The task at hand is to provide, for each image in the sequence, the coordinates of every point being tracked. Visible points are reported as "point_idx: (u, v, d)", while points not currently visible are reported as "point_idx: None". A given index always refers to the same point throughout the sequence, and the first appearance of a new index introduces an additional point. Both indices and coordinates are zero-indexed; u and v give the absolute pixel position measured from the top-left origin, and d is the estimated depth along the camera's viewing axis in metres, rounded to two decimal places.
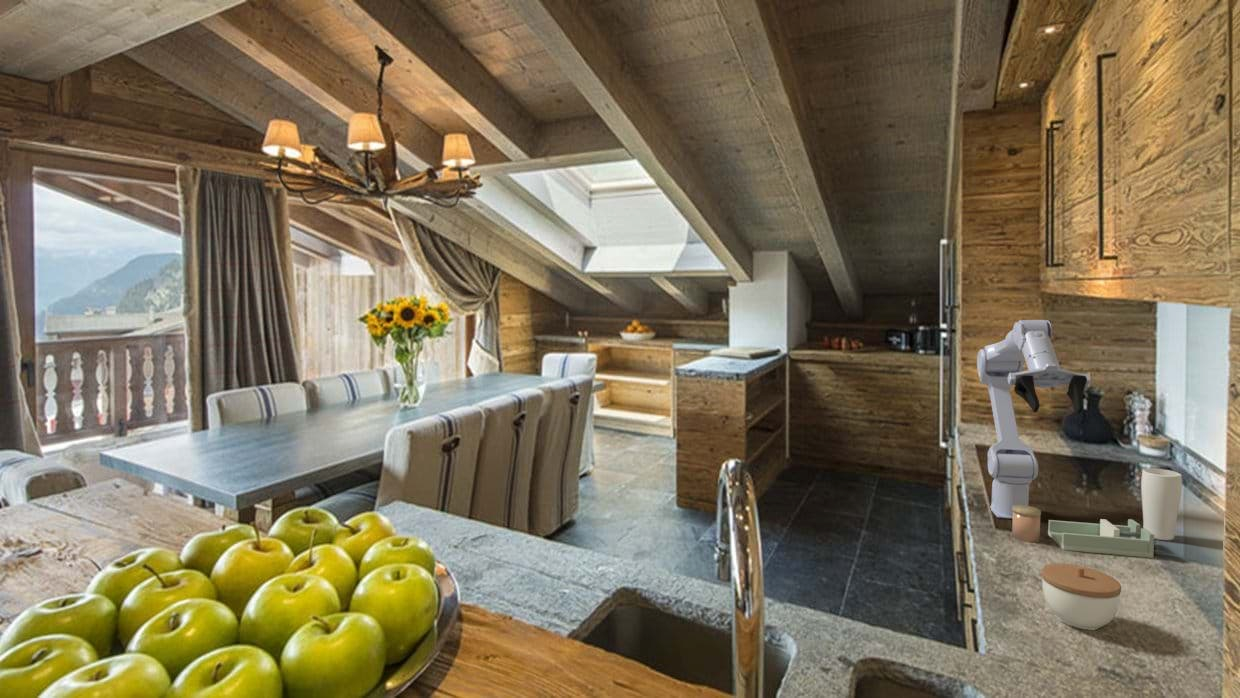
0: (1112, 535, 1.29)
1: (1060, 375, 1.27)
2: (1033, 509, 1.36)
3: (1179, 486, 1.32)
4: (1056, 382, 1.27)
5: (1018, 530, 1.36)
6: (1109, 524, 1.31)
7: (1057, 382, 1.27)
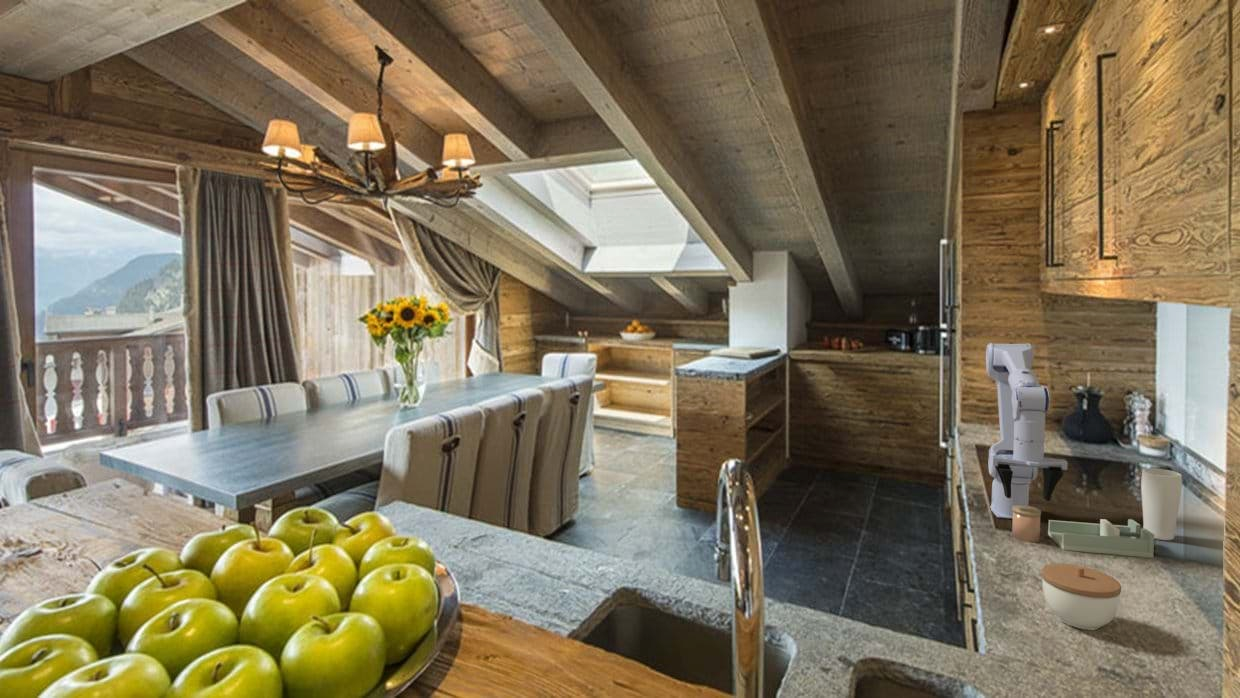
0: (1112, 535, 1.29)
1: None
2: (1033, 509, 1.36)
3: (1179, 486, 1.32)
4: (1035, 467, 1.35)
5: (1018, 530, 1.36)
6: (1109, 524, 1.31)
7: (1035, 467, 1.35)
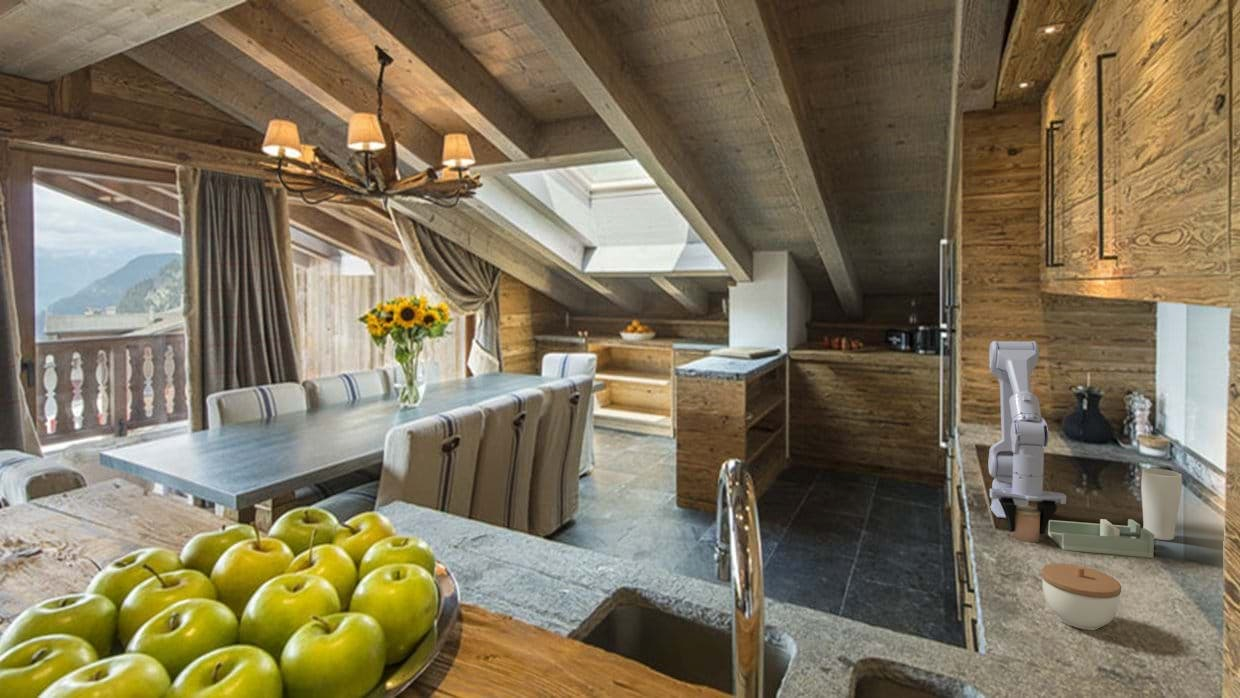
0: (1112, 535, 1.29)
1: None
2: (1033, 509, 1.36)
3: (1179, 486, 1.32)
4: (1033, 500, 1.36)
5: (1018, 530, 1.36)
6: (1109, 524, 1.31)
7: (1034, 500, 1.36)
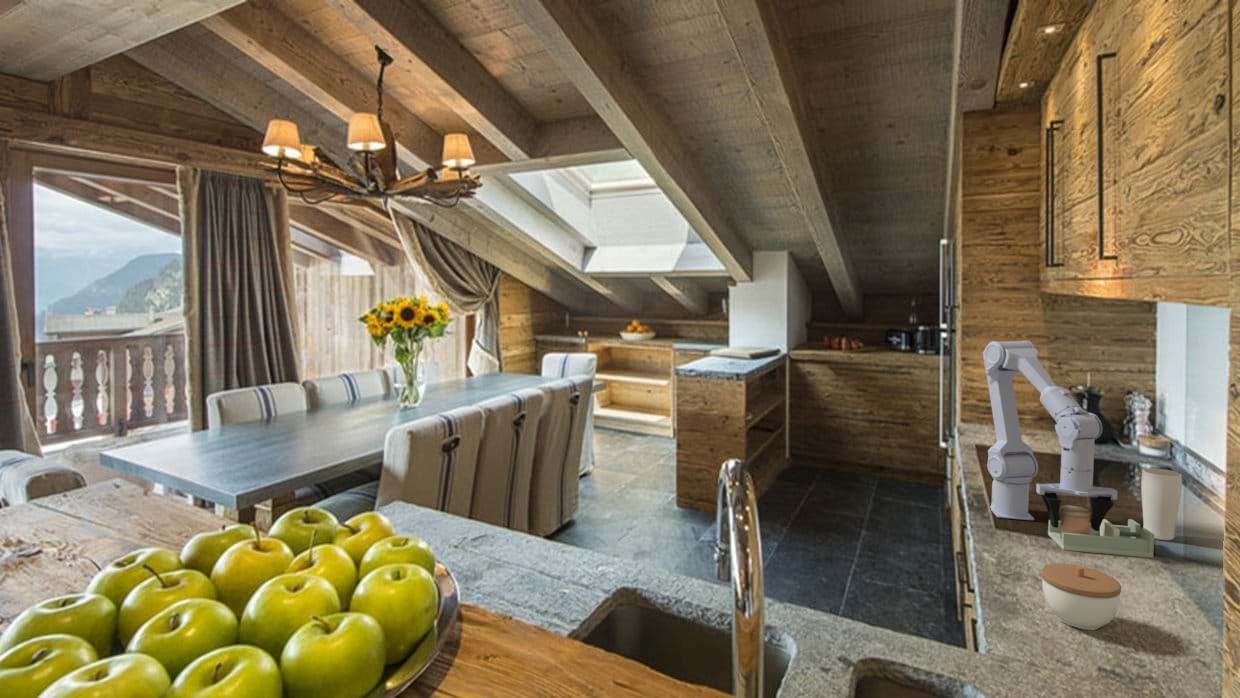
0: (1112, 535, 1.29)
1: None
2: (1082, 509, 1.32)
3: (1179, 486, 1.32)
4: (1083, 496, 1.32)
5: (1068, 532, 1.32)
6: (1109, 524, 1.31)
7: (1084, 496, 1.32)
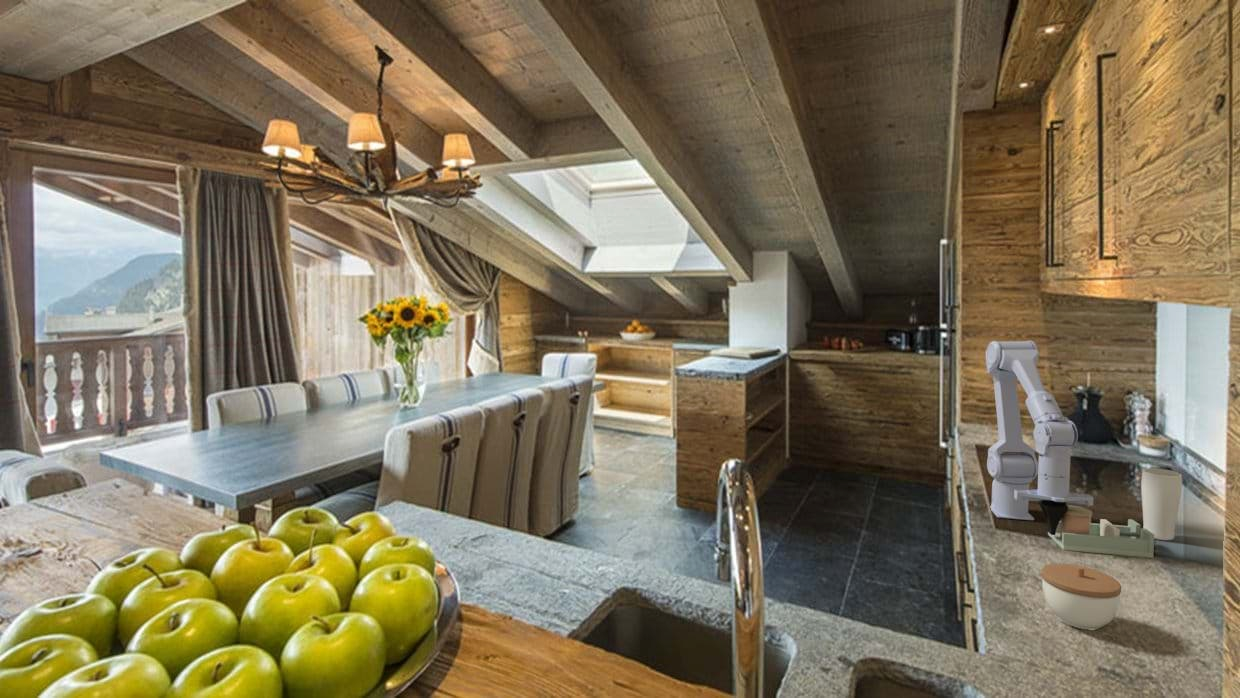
0: (1112, 535, 1.29)
1: None
2: (1083, 510, 1.32)
3: (1179, 486, 1.32)
4: (1060, 502, 1.33)
5: (1068, 531, 1.32)
6: (1109, 524, 1.31)
7: (1060, 502, 1.33)
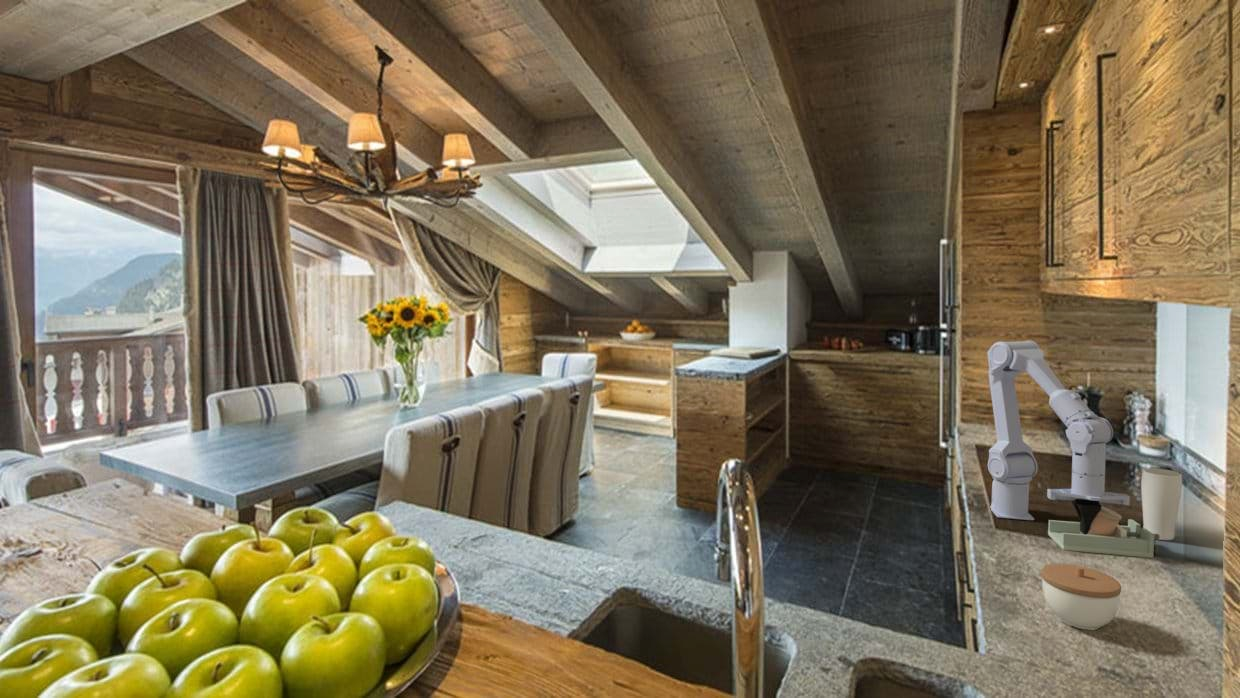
0: (1119, 536, 1.28)
1: None
2: (1113, 513, 1.30)
3: (1179, 486, 1.32)
4: None
5: (1090, 529, 1.30)
6: None
7: None
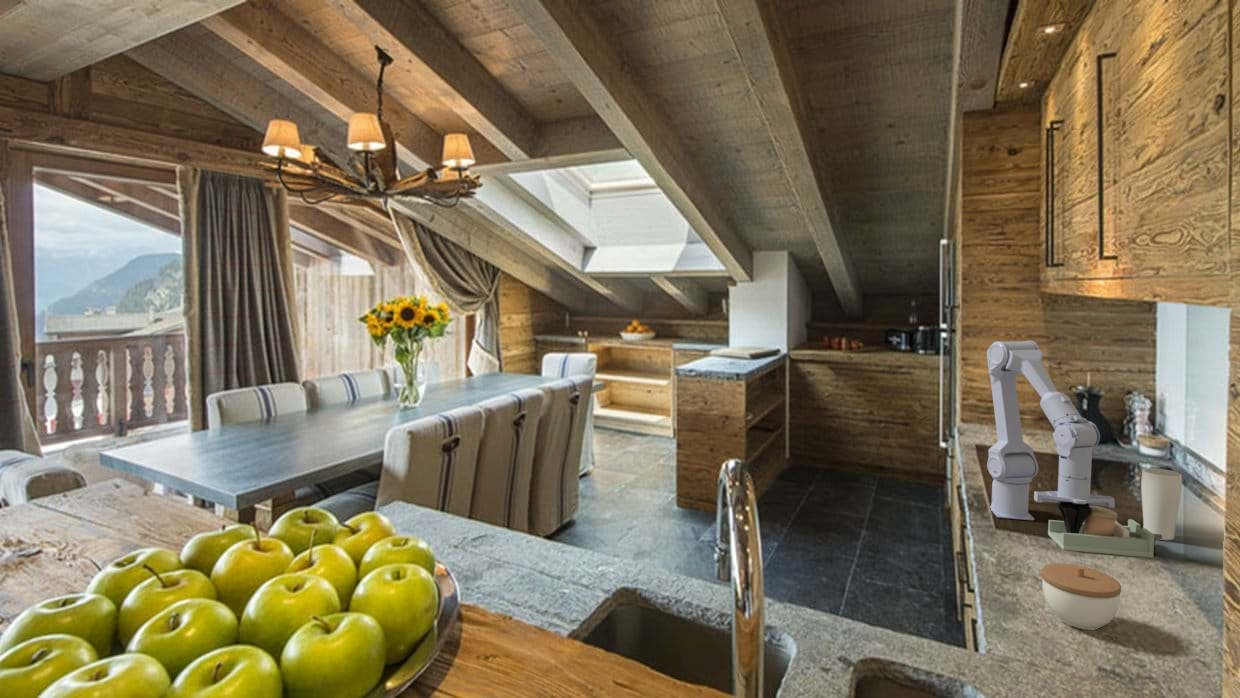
0: (1122, 536, 1.28)
1: None
2: (1109, 511, 1.30)
3: (1179, 486, 1.32)
4: (1080, 504, 1.32)
5: (1089, 531, 1.31)
6: (1119, 525, 1.30)
7: (1081, 504, 1.32)
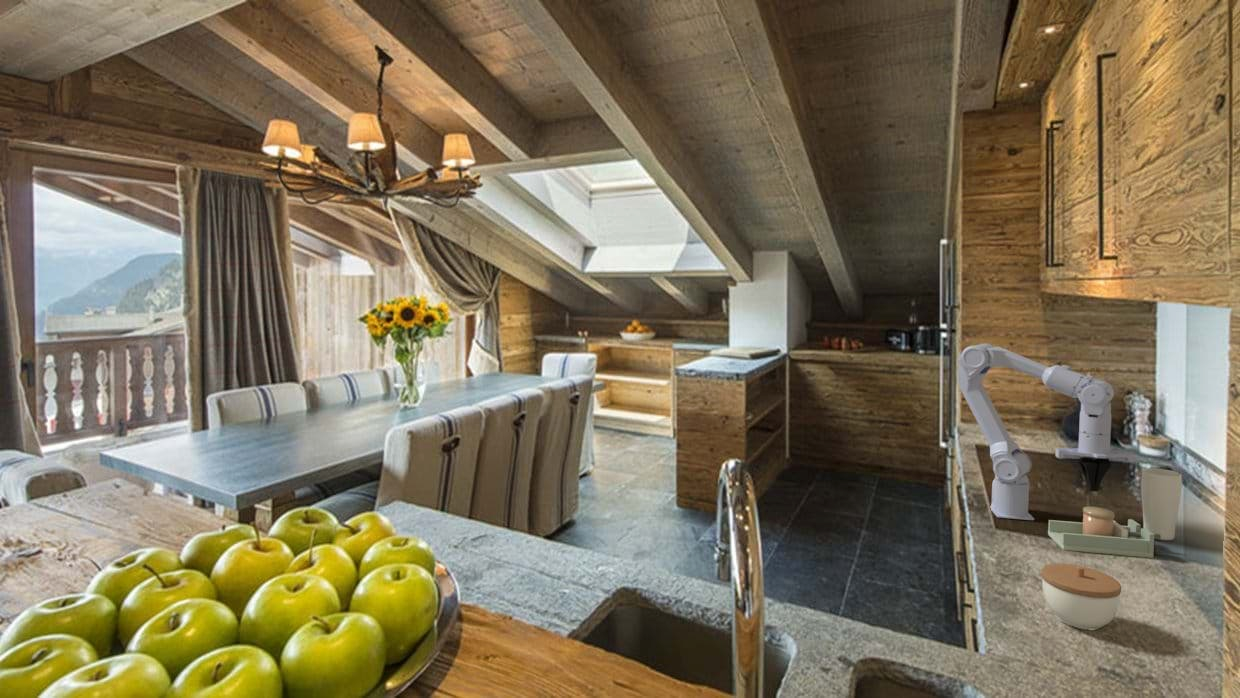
0: (1120, 536, 1.28)
1: None
2: (1106, 511, 1.31)
3: (1179, 486, 1.32)
4: None
5: (1088, 532, 1.31)
6: (1117, 525, 1.30)
7: None
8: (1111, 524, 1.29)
